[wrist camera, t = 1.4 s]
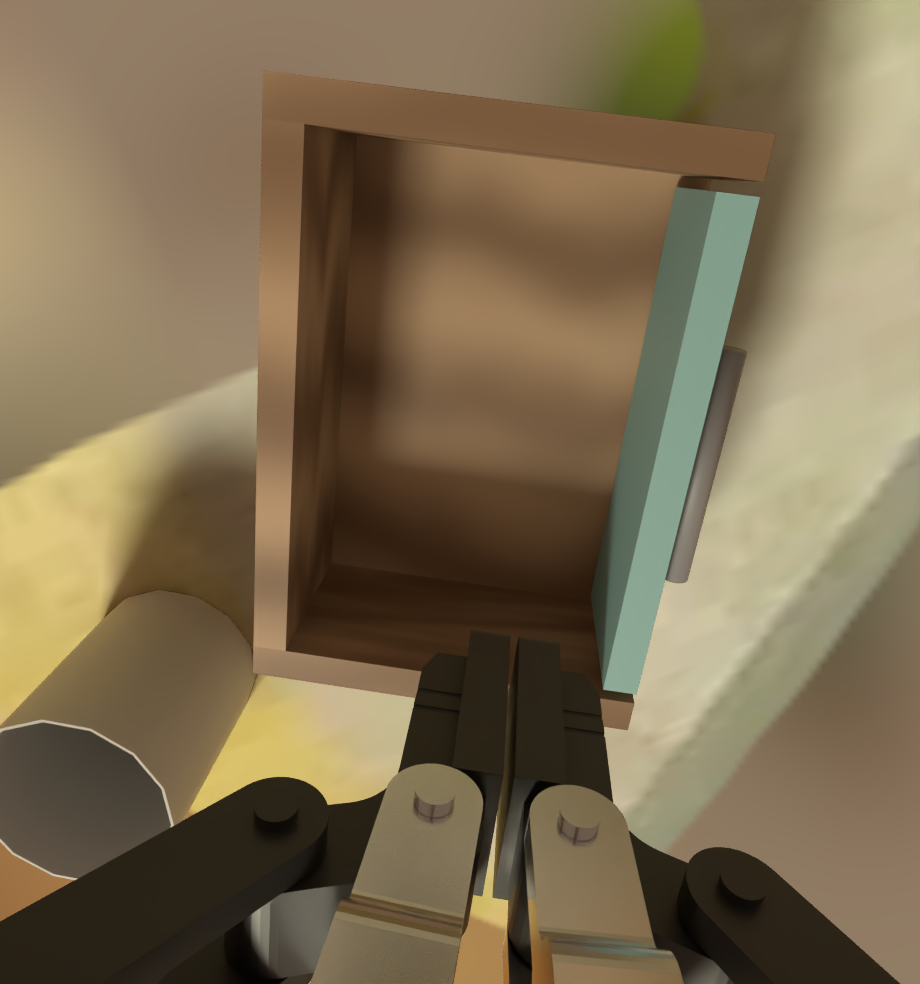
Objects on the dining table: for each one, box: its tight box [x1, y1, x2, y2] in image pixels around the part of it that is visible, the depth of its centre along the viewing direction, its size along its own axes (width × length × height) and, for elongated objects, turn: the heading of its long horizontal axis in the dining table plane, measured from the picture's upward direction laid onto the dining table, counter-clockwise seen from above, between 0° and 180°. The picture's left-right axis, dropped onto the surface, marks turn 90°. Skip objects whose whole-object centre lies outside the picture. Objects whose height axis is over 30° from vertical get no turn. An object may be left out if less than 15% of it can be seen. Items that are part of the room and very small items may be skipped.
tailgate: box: [591, 187, 760, 695], centre depth 28 cm, size 17×2×7 cm, turn 173°
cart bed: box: [253, 71, 776, 730], centre depth 29 cm, size 20×14×9 cm
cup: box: [0, 590, 256, 880], centre depth 36 cm, size 8×8×10 cm
